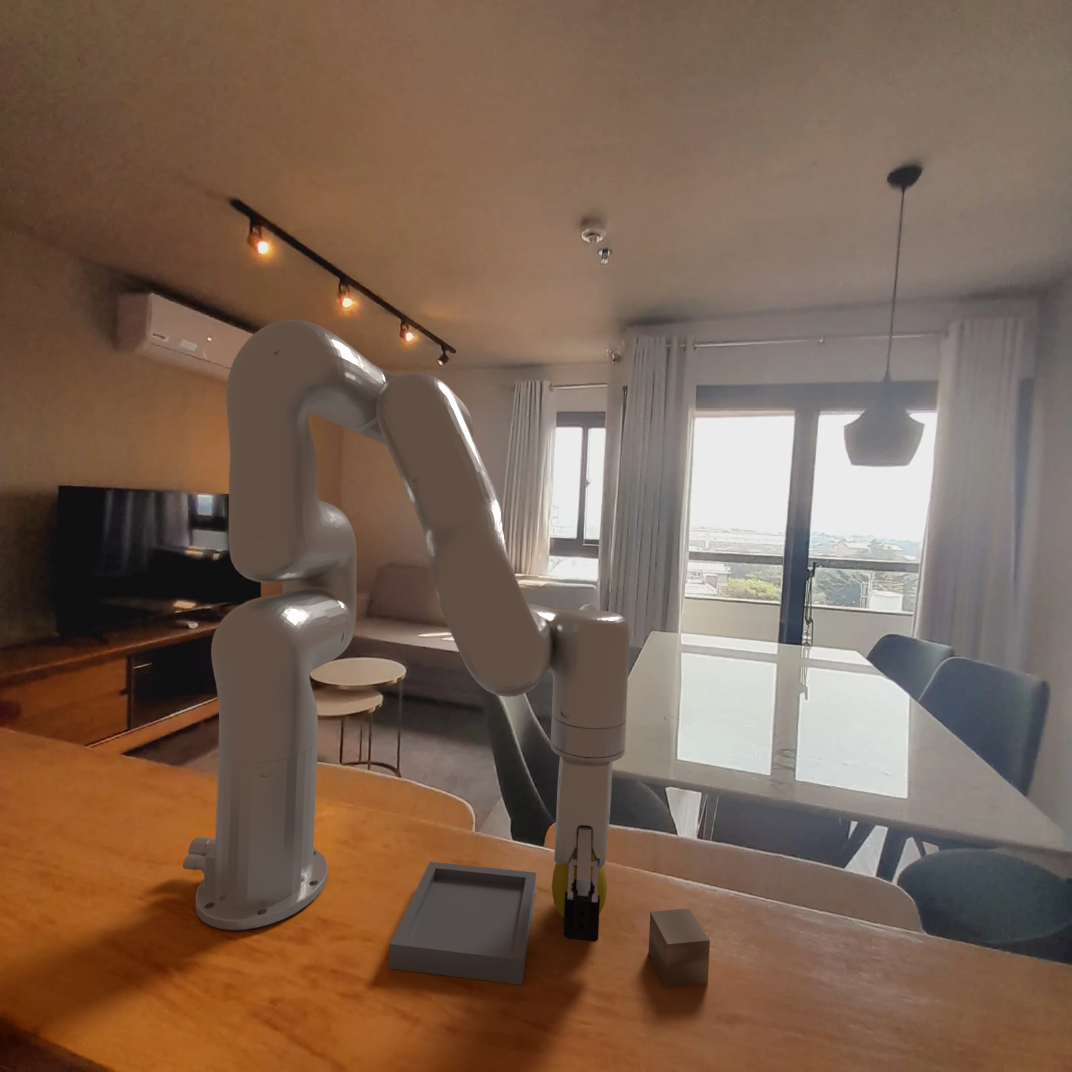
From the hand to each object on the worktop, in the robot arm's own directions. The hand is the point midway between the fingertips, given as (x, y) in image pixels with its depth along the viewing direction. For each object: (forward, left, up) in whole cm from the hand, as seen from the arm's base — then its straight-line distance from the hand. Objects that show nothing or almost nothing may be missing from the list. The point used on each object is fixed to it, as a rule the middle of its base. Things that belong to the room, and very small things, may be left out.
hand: (581, 901), depth 54 cm
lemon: (0, 0, -2) cm, 3 cm away
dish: (-11, -2, -2) cm, 11 cm away
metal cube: (+9, -4, -2) cm, 10 cm away
